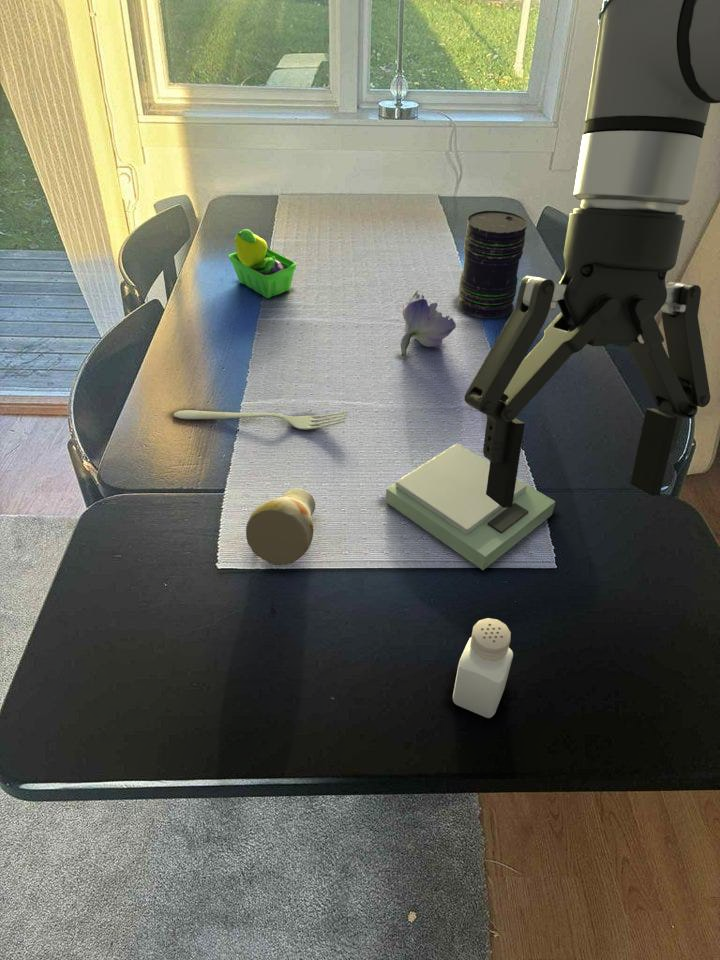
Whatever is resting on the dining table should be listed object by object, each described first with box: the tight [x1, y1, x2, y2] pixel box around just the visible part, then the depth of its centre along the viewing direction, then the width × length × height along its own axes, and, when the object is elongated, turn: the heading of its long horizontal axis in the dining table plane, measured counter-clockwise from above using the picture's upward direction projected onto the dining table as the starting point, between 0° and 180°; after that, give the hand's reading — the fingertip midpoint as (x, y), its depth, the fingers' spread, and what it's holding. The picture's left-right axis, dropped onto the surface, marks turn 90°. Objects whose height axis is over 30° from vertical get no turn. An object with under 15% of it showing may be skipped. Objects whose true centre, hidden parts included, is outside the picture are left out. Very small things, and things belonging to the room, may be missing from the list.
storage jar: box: [457, 210, 528, 319], centre depth 119 cm, size 10×10×15 cm
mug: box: [245, 487, 316, 566], centre depth 77 cm, size 8×10×10 cm
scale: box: [385, 443, 556, 571], centre depth 83 cm, size 15×13×3 cm
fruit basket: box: [228, 228, 298, 299], centre depth 124 cm, size 11×9×11 cm
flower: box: [399, 289, 457, 357], centre depth 110 cm, size 9×9×10 cm
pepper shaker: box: [452, 617, 514, 719], centre depth 61 cm, size 4×4×10 cm
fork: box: [173, 409, 349, 430], centre depth 96 cm, size 3×24×2 cm, turn 85°
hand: (574, 495), depth 55 cm, fingers open, 13 cm apart
